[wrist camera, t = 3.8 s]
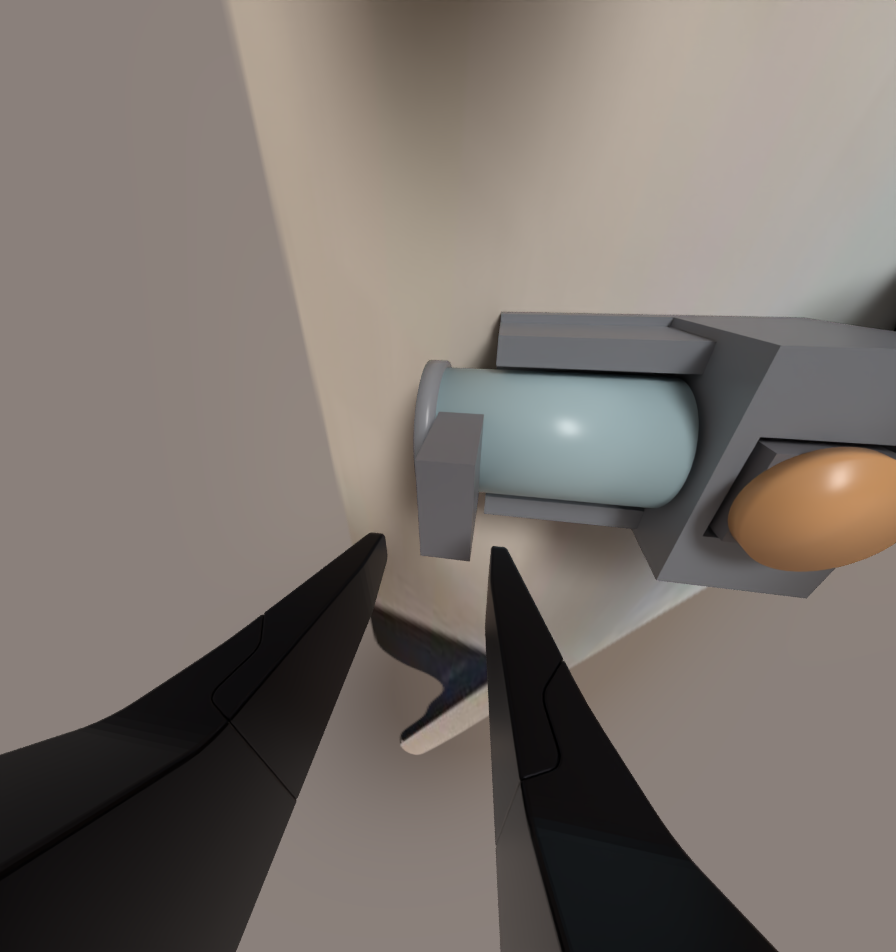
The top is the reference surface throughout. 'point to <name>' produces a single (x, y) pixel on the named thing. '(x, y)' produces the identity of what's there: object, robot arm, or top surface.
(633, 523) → the housing
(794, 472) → the plunger
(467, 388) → the cartridge
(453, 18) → the top surface
